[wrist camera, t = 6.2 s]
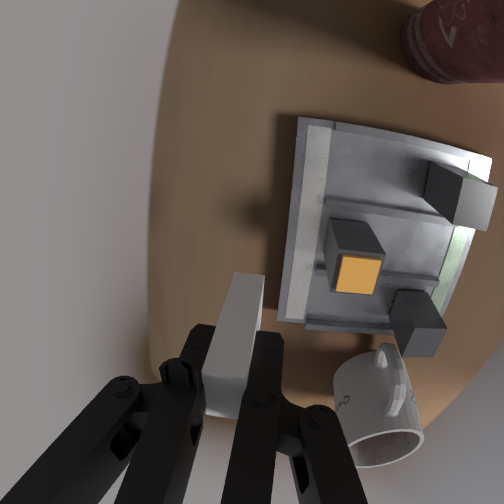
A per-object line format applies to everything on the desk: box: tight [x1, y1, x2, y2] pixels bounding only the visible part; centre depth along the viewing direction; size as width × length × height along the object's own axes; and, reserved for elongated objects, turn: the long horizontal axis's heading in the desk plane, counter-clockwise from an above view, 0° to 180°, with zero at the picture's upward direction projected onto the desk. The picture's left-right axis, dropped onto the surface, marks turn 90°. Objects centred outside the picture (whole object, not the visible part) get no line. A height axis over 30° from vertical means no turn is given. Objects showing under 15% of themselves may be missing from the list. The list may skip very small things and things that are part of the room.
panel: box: [277, 116, 492, 335], centre depth 23 cm, size 17×16×2 cm
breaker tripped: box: [324, 219, 386, 296], centre depth 20 cm, size 3×3×5 cm
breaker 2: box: [423, 161, 498, 231], centre depth 17 cm, size 3×3×5 cm
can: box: [401, 0, 504, 84], centre depth 10 cm, size 6×6×14 cm
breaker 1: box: [388, 290, 447, 357], centre depth 22 cm, size 3×3×5 cm
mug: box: [333, 343, 424, 468], centre depth 26 cm, size 12×9×10 cm
